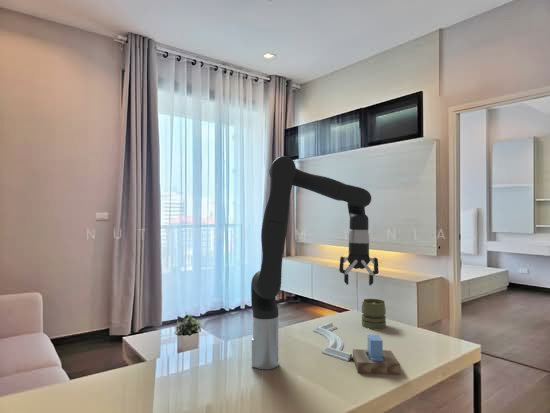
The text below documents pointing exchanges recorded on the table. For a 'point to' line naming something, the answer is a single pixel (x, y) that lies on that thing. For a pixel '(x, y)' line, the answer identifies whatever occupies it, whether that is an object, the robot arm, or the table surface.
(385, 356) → the tan square ring
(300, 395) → the table surface
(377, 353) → the blue block
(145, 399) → the table surface
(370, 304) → the piston
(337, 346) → the molding
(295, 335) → the table surface
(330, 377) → the table surface
